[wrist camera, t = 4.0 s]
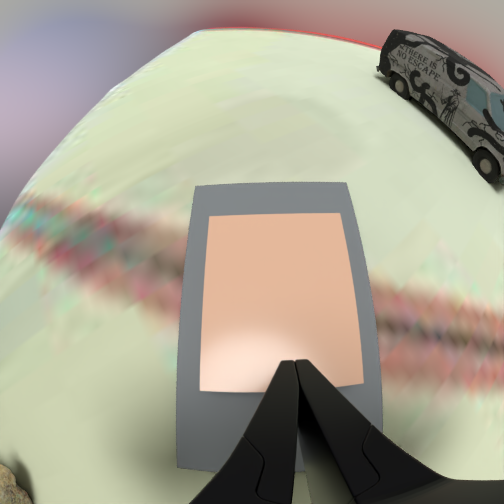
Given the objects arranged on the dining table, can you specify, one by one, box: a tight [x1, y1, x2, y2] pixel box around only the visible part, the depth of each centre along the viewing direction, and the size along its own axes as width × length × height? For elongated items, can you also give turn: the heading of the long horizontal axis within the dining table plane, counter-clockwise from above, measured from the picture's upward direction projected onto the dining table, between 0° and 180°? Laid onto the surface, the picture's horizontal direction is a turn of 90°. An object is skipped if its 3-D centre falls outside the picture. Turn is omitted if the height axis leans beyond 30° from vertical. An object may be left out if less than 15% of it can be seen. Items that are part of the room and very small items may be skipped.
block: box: [200, 213, 364, 392], centre depth 15 cm, size 2×8×10 cm
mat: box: [176, 182, 383, 472], centre depth 16 cm, size 20×12×1 cm, turn 0°
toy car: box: [376, 29, 504, 185], centre depth 22 cm, size 11×25×10 cm, turn 23°
